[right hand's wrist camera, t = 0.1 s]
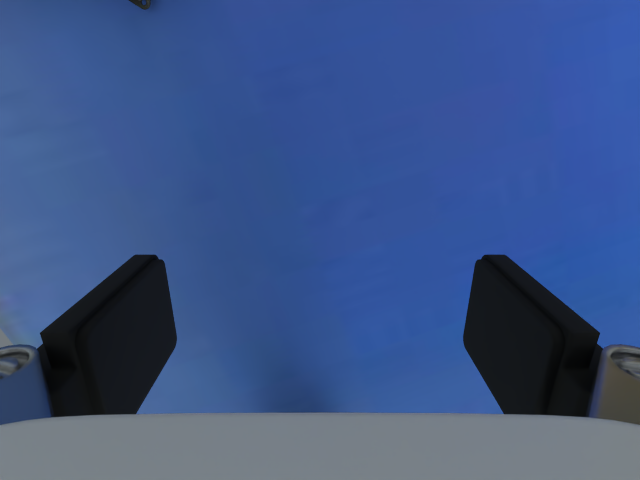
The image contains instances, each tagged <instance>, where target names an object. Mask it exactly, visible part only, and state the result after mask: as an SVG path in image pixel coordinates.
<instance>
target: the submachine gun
mask: <svg viewBox="0 0 640 480" xmlns="http://www.w3.org/2000/svg"><path fill="white" fill-rule="evenodd" d="M129 1H131V2H132V3H134V4H135V5H137V6H139V7H140V8H142V9H148V8H149V7H150V0H146V5H143V4H142V0H129Z"/></svg>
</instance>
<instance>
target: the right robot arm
mask: <svg viewBox="0 0 640 480" xmlns="http://www.w3.org/2000/svg"><path fill="white" fill-rule="evenodd" d="M40 335H41V338H42V341H43V344H42V345H41V346H40V347H39V348H37V349H36V347H33V346H30V345H20V344H19V345H11V346H6V347H2V348H0V480H640V348H638V347H634V346H629V345H621V344H620V345H610V346H607V347H604V349H603V348H601V347H600V346H599V345H598V344H597V341H598V338H599V335H600V333H599V332H598V331H597V330H596V329H595V328H593V327H592V326H591V325H590V324H589V323H587V322H586V321H585V320H584V319H582V318H581V317H580V316H579V315H578V314H576V313H575V312H574V311H573V310H572V309H570V308H569V307H568V306H567V305H565V304H564V303H563V302H562V301H561V300H559V299H558V298H557V297H556V296H555V295H553V294H552V293H551V292H550V291H548V290H547V289H546V288H545V287H544V286H542V285H541V284H540V283H539V282H538V281H536V280H535V279H534V278H533V277H532V276H530V275H529V274H528V273H527V272H525V271H524V270H523V269H522V268H521V267H519V266H518V265H517V264H516V263H515V262H513V261H512V260H511V259H510V258H508V257H507V256H506V255H484V256H483V257H482V259H481V260H477V261H476V263H475V268H474V274H473V280H472V286H471V292H470V298H469V304H468V310H467V316H466V323H465V329H464V335H463V341H464V346H465V348H466V350H467V352H468V354H469V355H470V357H471V359H472V360H473V362H474V364H475V365H476V367H477V369H478V371H479V372H480V374H481V376H482V377H483V379H484V381H485V382H486V384H487V386H488V387H489V389H490V391H491V393H492V394H493V396H494V398H495V399H496V401H497V403H498V404H499V406H500V408H501V409H502V411H503V413H504V414H463V413H177V414H136V413H137V411H138V409H139V408H140V406H141V404H142V403H143V401H144V399H145V398H146V396H147V394H148V393H149V391H150V389H151V387H152V386H153V384H154V382H155V381H156V379H157V377H158V376H159V374H160V372H161V371H162V369H163V367H164V365H165V364H166V362H167V360H168V359H169V357H170V355H171V354H172V352H173V350H174V348H175V346H176V341H177V335H176V329H175V323H174V317H173V310H172V304H171V298H170V292H169V286H168V280H167V274H166V268H165V263H164V261H163V260H159V259H158V257H157V256H156V255H134V256H133V257H132V258H130V259H129V260H128V261H127V262H125V263H124V264H123V265H122V266H121V267H119V268H118V269H117V270H116V271H115V272H113V273H112V274H111V275H110V276H108V277H107V278H106V279H105V280H104V281H102V282H101V283H100V284H99V285H98V286H96V287H95V288H94V289H93V290H92V291H90V292H89V293H88V294H87V295H85V296H84V297H83V298H82V299H81V300H79V301H78V302H77V303H76V304H75V305H73V306H72V307H71V308H70V309H68V310H67V311H66V312H65V313H64V314H62V315H61V316H60V317H59V318H58V319H56V320H55V321H54V322H53V323H51V324H50V325H49V326H48V327H47V328H45V329H44V330H43V331H42V332H41V333H40Z"/></svg>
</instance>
